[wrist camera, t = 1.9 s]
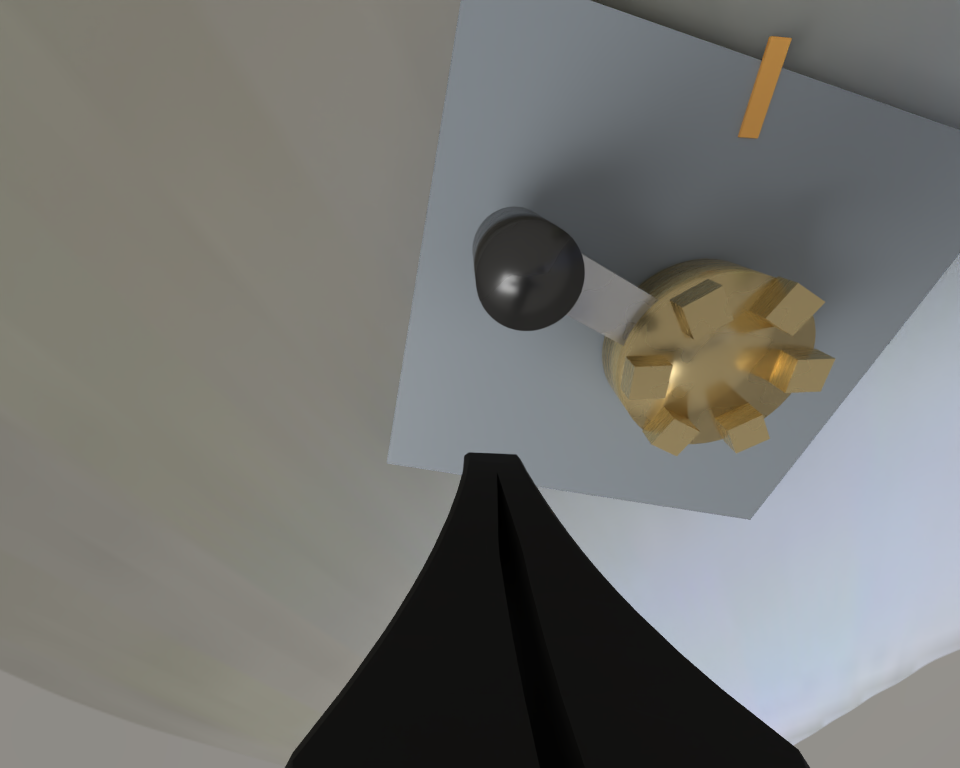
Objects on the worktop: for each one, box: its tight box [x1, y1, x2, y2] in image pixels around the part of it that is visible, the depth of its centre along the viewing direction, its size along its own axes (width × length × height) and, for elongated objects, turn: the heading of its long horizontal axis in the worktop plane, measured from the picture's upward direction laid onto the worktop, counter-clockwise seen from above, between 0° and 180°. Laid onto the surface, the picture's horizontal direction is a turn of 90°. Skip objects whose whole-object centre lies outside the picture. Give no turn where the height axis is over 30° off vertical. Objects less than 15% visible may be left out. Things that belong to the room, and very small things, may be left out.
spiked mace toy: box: [472, 207, 835, 456], centre depth 12 cm, size 12×6×5 cm, turn 61°
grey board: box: [387, 0, 960, 520], centre depth 16 cm, size 19×18×2 cm
